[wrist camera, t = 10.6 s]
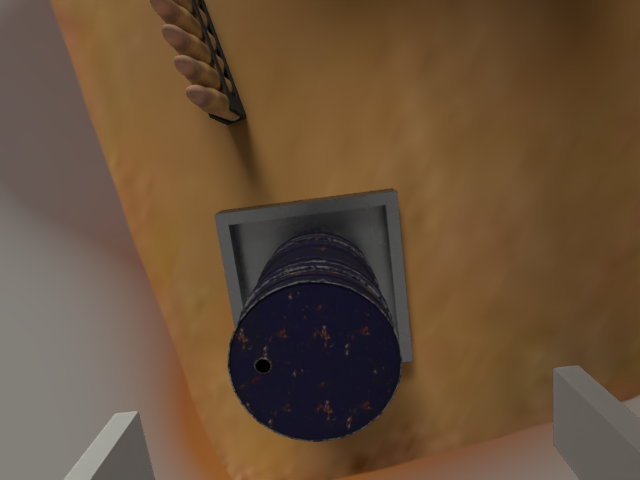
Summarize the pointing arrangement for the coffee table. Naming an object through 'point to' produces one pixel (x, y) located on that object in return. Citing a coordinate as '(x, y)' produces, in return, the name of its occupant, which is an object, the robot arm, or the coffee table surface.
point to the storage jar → (315, 342)
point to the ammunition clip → (200, 58)
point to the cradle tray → (327, 215)
